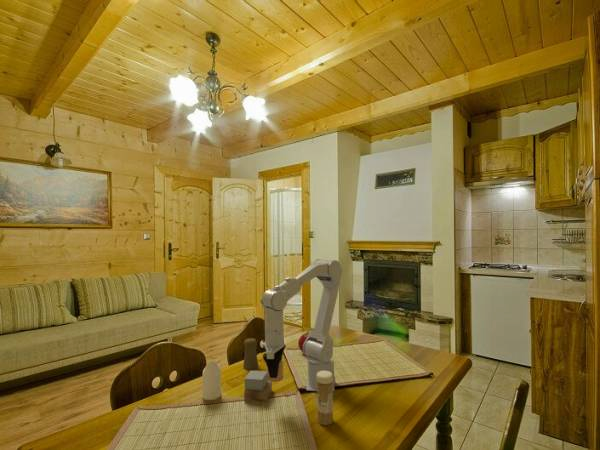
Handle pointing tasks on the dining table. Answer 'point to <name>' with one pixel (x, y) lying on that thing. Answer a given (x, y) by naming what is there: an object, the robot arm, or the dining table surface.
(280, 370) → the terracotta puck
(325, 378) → the sprinkles bottle
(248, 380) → the slate-grey block
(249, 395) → the walnut slab
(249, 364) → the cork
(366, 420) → the dining table surface
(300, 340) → the christmas ornament
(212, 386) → the cream domed cylinder
